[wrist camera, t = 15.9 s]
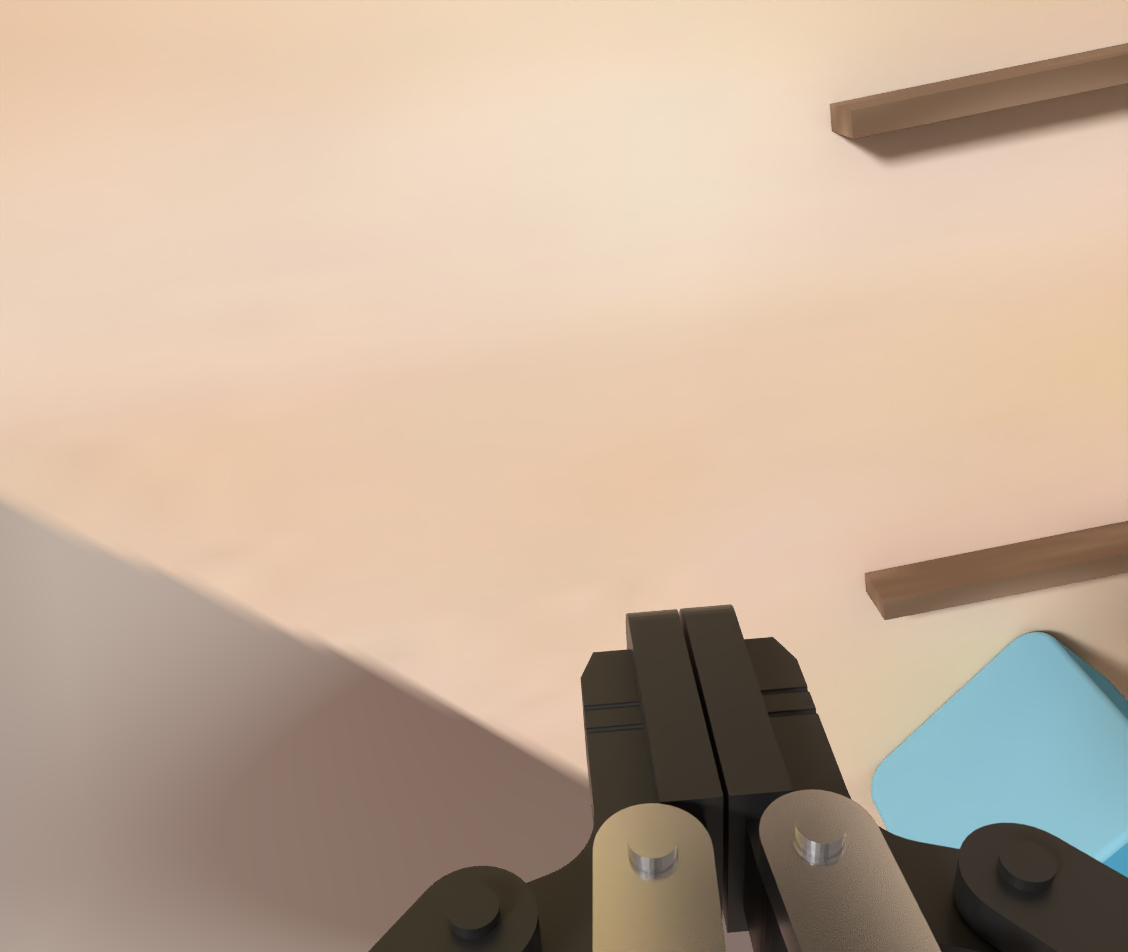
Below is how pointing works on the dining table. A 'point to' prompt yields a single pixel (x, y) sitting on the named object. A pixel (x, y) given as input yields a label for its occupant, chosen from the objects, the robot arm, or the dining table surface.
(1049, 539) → the lane rails
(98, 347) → the dining table surface
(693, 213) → the dining table surface
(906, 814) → the data package
